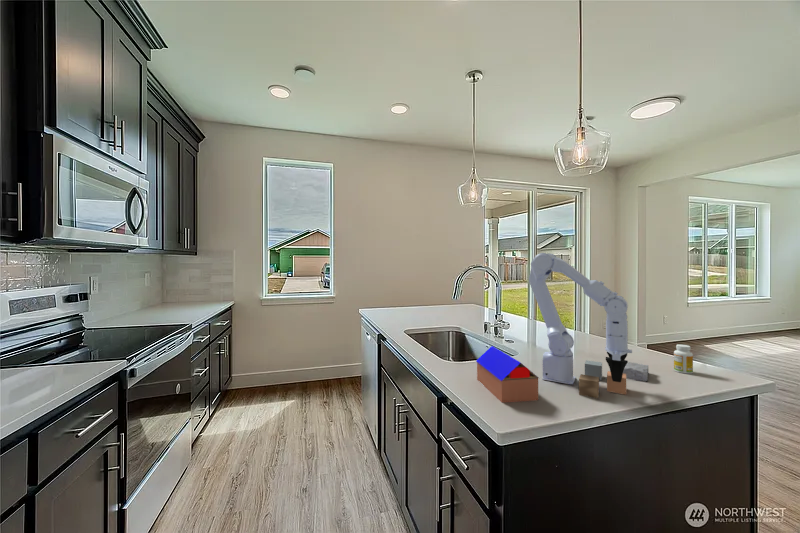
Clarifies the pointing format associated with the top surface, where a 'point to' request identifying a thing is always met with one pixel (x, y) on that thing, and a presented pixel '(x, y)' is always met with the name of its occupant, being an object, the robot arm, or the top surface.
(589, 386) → the walnut block
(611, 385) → the terracotta block
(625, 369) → the stone block
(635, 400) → the top surface
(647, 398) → the top surface
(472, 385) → the top surface
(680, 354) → the supplement bottle
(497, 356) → the house
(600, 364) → the slate block
